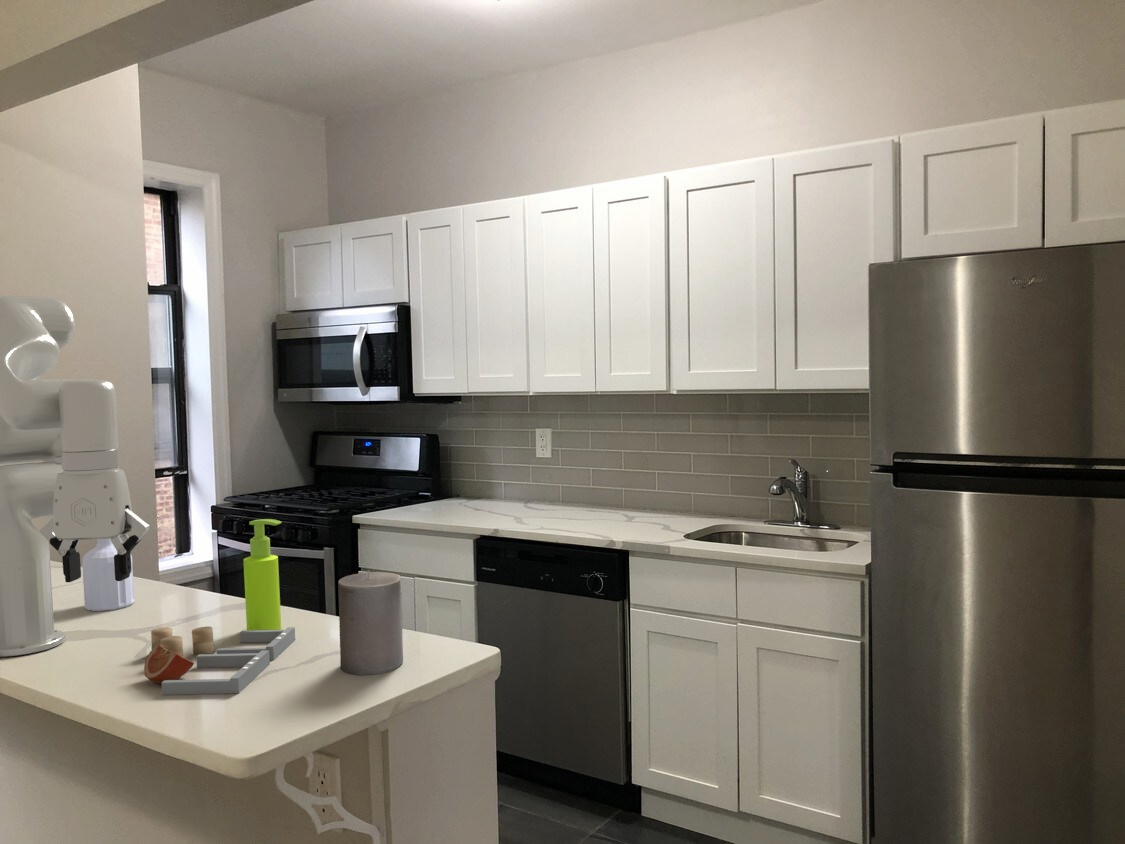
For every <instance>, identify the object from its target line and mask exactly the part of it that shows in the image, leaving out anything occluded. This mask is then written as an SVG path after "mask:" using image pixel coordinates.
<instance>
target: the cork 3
mask: <svg viewBox="0 0 1125 844" xmlns="http://www.w3.org/2000/svg"><path fill="white" fill-rule="evenodd" d="M191 637H192V639H191V640H192V652H193V656H194V657H196V656H198V655H199V654H215V642H214V631H213V627H212V626H202V627H201V626H200V627H196V628H194V629H192V630H191Z"/></svg>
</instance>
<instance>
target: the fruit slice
mask: <svg viewBox="0 0 1125 844" xmlns="http://www.w3.org/2000/svg"><path fill="white" fill-rule="evenodd" d="M194 665H195V662H193V661H192V660H190V659H188V658H186V657H185V656H184V655H183V656H181V655H179V654H177V653H175V652H173V651H171V650H170V649H169V650H168V649H165V648H163V647H161V646H160V645H157V644H156V645H155V646H154V648H153V649H152V648H151V650H150V651H149V653H148V654H147V655H146V657H145V662H144V666H143V673H144V676H145V677H146V678H147V679H148V680H149V681H151V682H154V683H158V684H162V682H163V681H164V680H179V679H180V678H181V677H184V676H185V674H187V673H188V672H189V671H190V670H191V669H192V667H193V666H194Z"/></svg>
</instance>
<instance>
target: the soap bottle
mask: <svg viewBox="0 0 1125 844" xmlns="http://www.w3.org/2000/svg"><path fill="white" fill-rule="evenodd" d="M96 543H97V544H96V546H95V547H93V548H92V549H90V550H88V552H86V553H85V554H84V555H83V558H82V560H81V561H82V562H81V565H82V566H81V568H82V580H83V581H82V582H83V599H84V609H85V610H87V611H90V610H92V611H91V612H105V611H104V610H110V611H114V609H116V610H119V609H120V608H121V609H125V608H127V607H129V606H131V605H132V604H134V603H135V591H134V588H135V587H134V572H133V557H132V554H131V573H130V576H129V577H128V578H126V579H124V580H122V581H116V580H115V568H114V556H115V555H116V554H117V550H116V549H115V547H114V545H113V543H112V542H111V540H110V539H96ZM124 607H125V608H124Z"/></svg>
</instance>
